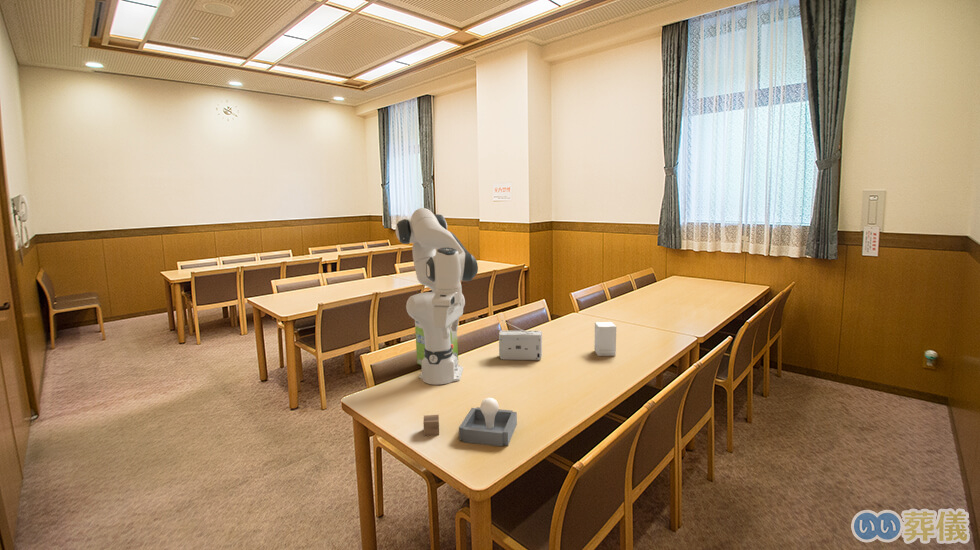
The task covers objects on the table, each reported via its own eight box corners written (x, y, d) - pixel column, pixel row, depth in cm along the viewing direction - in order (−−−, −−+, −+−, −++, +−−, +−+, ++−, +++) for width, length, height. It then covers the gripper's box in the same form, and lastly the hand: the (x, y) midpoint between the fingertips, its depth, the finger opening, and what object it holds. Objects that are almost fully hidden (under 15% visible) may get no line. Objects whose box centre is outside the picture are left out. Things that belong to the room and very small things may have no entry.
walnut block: (424, 429, 160) (423, 415, 159) (439, 428, 160) (438, 414, 160) (424, 436, 155) (423, 422, 154) (439, 435, 155) (438, 421, 155)
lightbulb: (502, 428, 158) (502, 398, 156) (490, 435, 153) (489, 404, 151) (489, 423, 162) (488, 393, 160) (477, 429, 157) (476, 398, 155)
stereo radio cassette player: (541, 355, 231) (541, 316, 228) (542, 361, 223) (541, 320, 220) (499, 355, 233) (499, 316, 230) (498, 360, 225) (497, 320, 222)
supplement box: (616, 356, 228) (616, 326, 226) (597, 356, 228) (598, 326, 226) (611, 350, 237) (612, 321, 235) (594, 350, 237) (594, 321, 235)
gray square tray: (472, 418, 167) (472, 406, 166) (517, 423, 163) (517, 411, 162) (458, 441, 151) (458, 428, 150) (507, 447, 147) (507, 433, 146)
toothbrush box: (428, 369, 215) (425, 318, 211) (416, 364, 223) (413, 314, 219) (459, 360, 226) (456, 312, 222) (446, 355, 234) (444, 308, 230)
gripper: (450, 289, 171) (451, 326, 173) (429, 301, 151) (431, 342, 153) (466, 289, 169) (467, 326, 171) (447, 302, 149) (449, 343, 152)
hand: (450, 334), depth 162 cm, fingers open, 8 cm apart
